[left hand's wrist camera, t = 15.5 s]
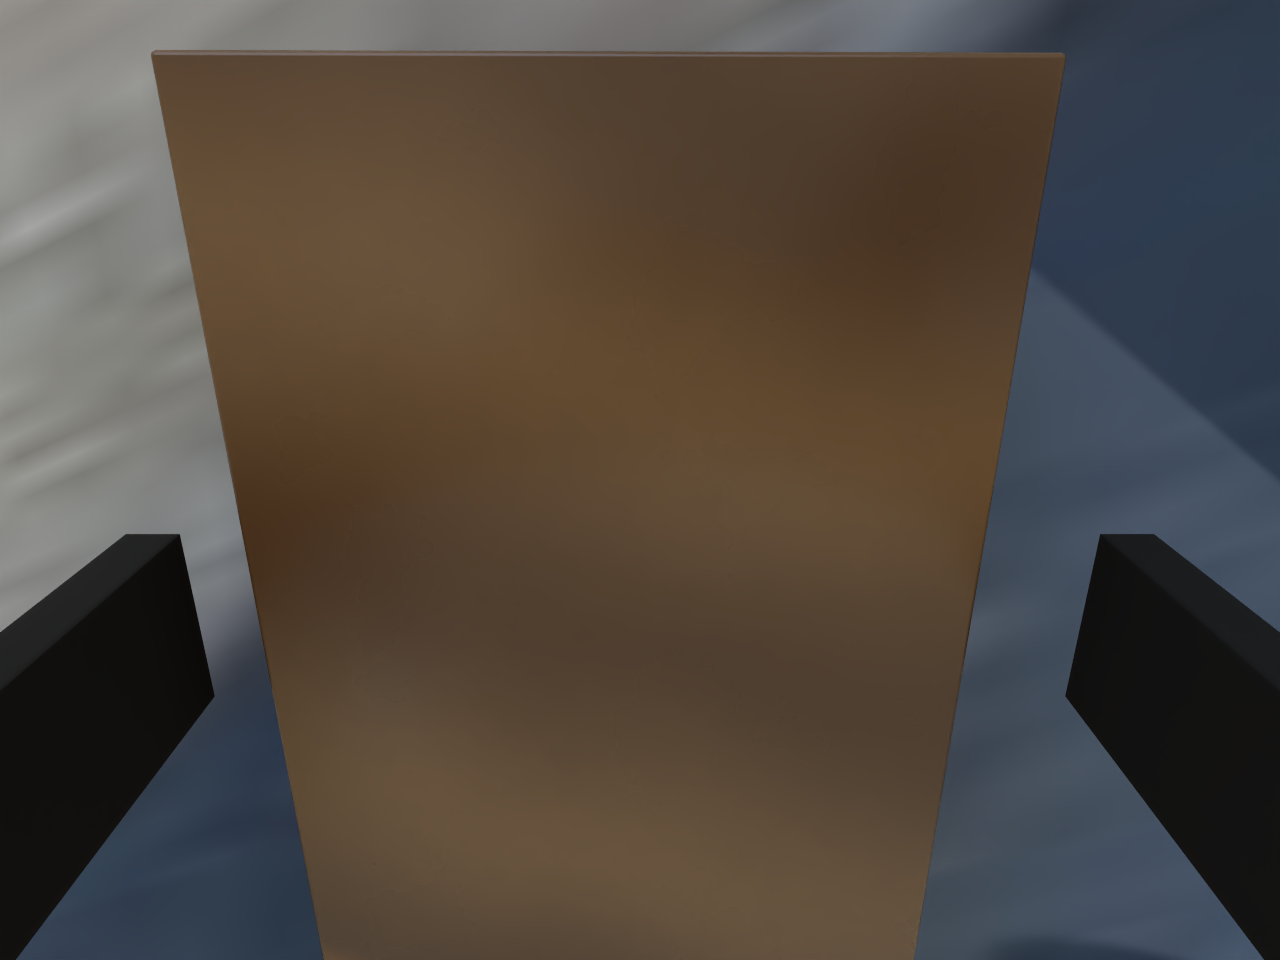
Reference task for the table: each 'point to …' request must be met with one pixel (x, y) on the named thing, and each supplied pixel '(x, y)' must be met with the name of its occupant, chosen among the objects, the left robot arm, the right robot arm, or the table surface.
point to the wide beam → (613, 472)
